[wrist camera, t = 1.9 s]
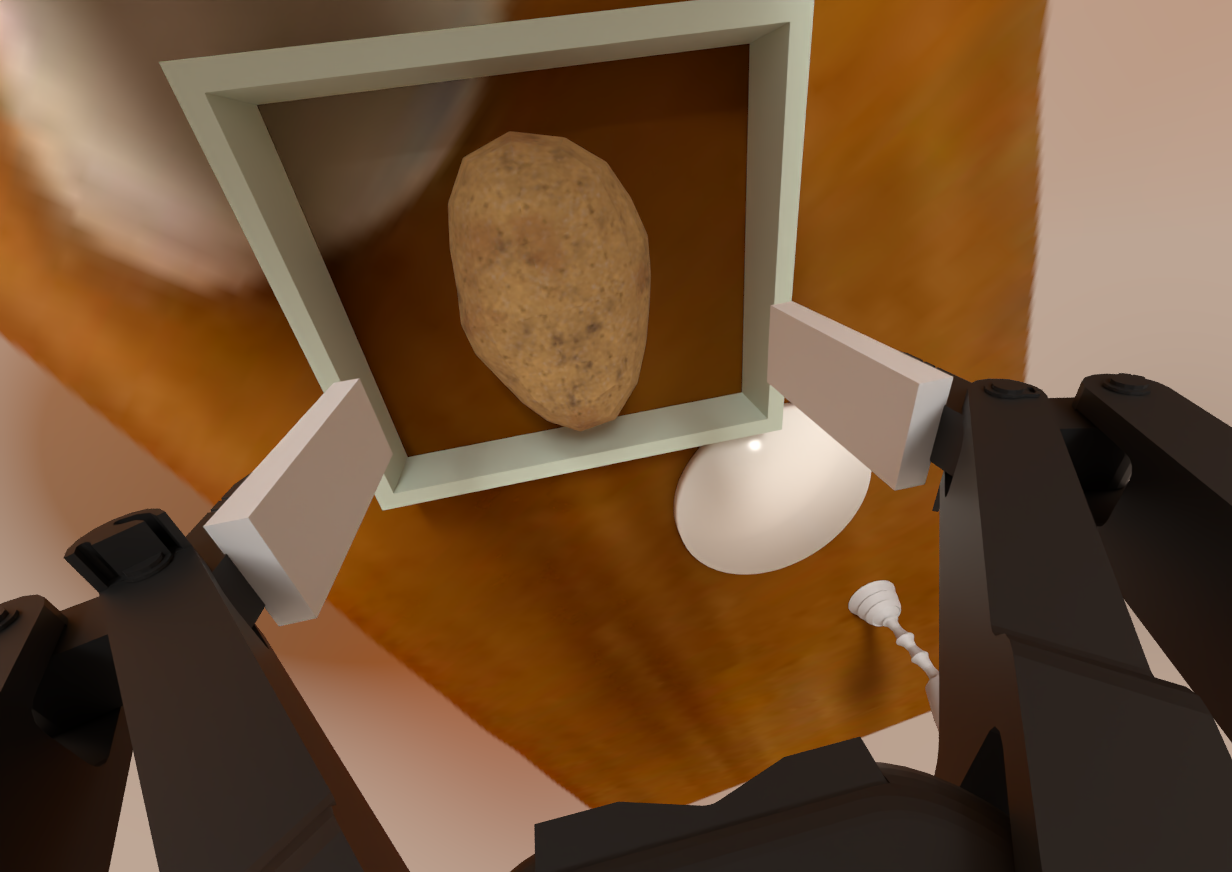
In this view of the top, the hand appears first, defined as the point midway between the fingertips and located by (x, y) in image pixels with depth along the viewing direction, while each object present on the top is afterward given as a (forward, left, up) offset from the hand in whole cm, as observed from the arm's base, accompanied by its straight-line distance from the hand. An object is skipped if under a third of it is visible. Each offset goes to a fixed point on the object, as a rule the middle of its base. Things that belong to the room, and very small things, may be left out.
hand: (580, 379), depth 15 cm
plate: (+19, +14, -14) cm, 27 cm away
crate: (0, 0, -14) cm, 14 cm away
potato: (0, 0, -14) cm, 14 cm away
